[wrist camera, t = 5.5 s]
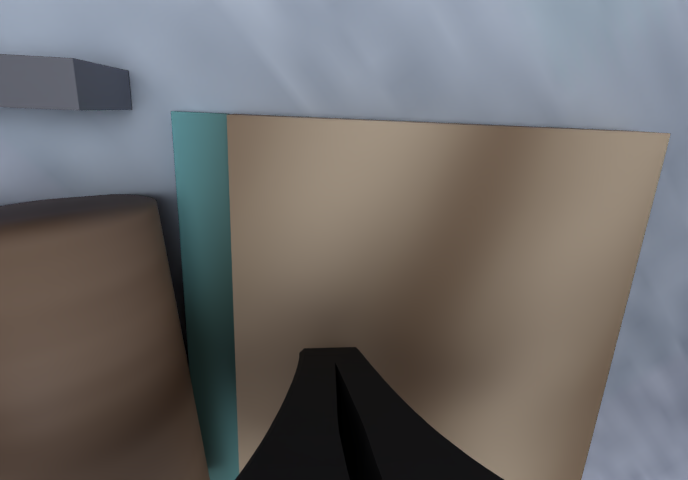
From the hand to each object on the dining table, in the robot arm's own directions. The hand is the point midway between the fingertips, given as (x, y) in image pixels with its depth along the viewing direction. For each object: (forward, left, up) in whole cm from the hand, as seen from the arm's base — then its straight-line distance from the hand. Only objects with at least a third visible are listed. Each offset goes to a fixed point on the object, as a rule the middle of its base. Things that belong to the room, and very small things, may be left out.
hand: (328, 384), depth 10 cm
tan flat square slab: (-2, 0, -2) cm, 3 cm away
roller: (+5, 0, 0) cm, 5 cm away
